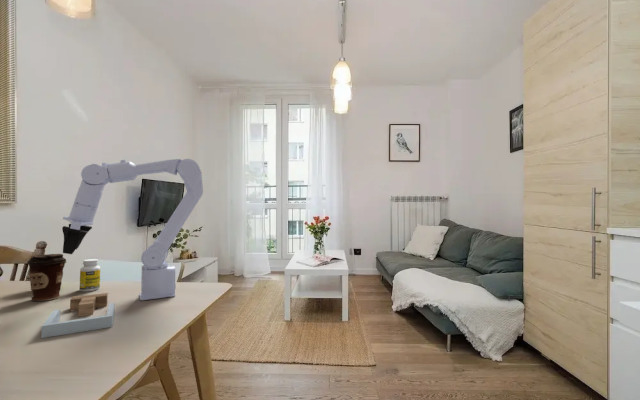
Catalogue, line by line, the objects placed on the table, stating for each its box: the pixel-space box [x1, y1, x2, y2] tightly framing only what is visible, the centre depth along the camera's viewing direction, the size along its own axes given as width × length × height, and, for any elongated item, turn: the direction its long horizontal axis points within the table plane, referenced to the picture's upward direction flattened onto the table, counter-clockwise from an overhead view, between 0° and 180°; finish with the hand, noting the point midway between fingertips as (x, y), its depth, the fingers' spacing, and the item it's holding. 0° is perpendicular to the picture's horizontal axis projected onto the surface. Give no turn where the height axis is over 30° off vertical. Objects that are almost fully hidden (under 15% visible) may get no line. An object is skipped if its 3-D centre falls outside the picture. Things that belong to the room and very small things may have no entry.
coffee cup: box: [26, 253, 67, 302], centre depth 93 cm, size 9×8×13 cm
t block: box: [69, 292, 109, 317], centre depth 83 cm, size 9×8×3 cm
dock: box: [41, 302, 116, 339], centre depth 74 cm, size 11×12×2 cm
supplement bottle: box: [79, 258, 101, 292], centre depth 103 cm, size 5×5×10 cm
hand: (70, 251), depth 89 cm, fingers open, 7 cm apart
